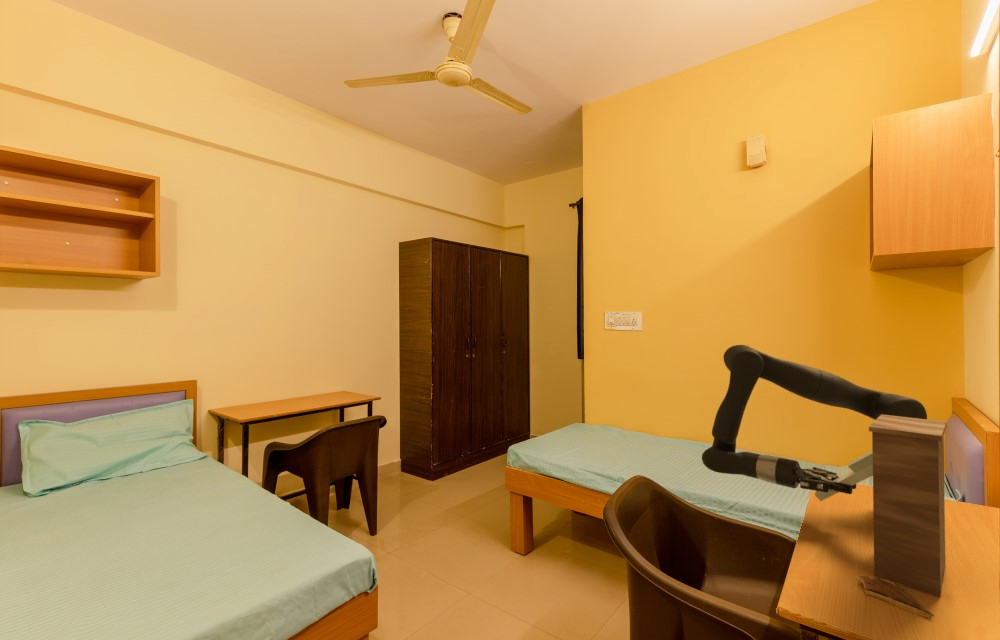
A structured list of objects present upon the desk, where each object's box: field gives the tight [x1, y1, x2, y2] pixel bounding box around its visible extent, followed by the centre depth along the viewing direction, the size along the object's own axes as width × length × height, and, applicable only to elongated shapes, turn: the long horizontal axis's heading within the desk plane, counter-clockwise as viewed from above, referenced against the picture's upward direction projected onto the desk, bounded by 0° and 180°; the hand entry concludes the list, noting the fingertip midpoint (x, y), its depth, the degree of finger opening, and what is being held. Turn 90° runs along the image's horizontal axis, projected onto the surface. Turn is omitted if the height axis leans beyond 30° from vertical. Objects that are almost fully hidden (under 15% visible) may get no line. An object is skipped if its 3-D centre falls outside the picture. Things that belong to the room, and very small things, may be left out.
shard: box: [857, 575, 935, 619], centre depth 86 cm, size 11×8×2 cm
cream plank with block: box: [814, 449, 873, 502], centre depth 112 cm, size 4×20×4 cm
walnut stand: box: [868, 414, 948, 598], centre depth 95 cm, size 17×11×32 cm, turn 132°
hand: (853, 487), depth 112 cm, fingers closed on cream plank with block, 4 cm apart
